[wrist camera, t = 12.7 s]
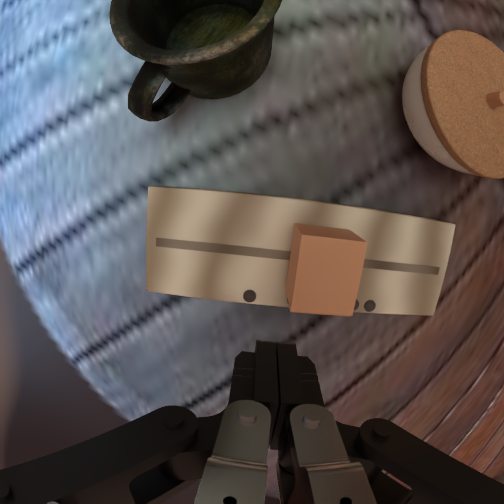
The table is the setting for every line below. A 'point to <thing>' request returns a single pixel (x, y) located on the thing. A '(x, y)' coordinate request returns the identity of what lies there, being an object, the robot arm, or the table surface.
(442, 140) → the lidded bowl
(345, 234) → the slider
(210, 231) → the count board
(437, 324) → the table surface
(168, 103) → the mug
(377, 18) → the table surface
